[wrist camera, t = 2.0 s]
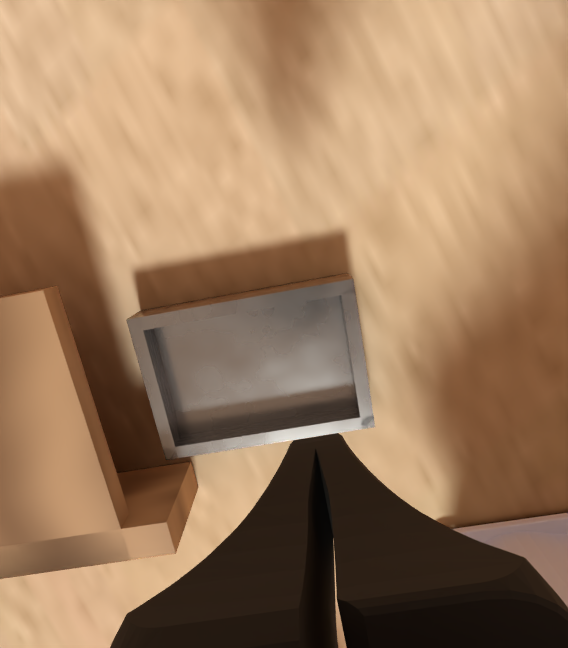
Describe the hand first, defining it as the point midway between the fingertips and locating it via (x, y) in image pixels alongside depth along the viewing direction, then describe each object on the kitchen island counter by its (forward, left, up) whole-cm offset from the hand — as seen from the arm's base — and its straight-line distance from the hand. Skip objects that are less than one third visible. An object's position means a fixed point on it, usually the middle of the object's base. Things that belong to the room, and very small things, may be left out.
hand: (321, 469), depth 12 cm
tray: (+3, 0, -10) cm, 10 cm away
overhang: (+12, 0, -10) cm, 15 cm away
